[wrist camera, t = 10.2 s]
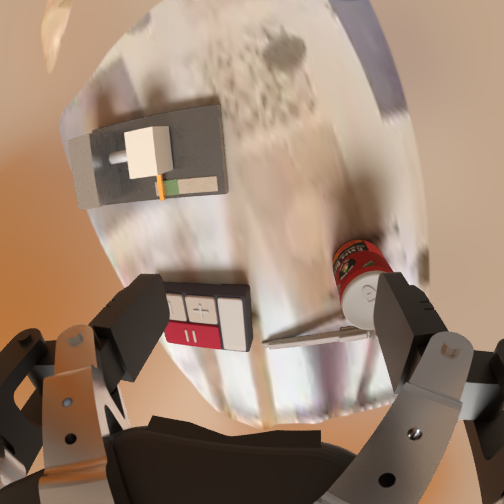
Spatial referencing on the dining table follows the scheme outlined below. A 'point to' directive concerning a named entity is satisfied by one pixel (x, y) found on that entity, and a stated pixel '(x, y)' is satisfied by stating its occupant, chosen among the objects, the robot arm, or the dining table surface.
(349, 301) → the canned food
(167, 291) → the calculator
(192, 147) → the gauge base
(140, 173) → the block
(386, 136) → the dining table surface
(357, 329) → the caliper
